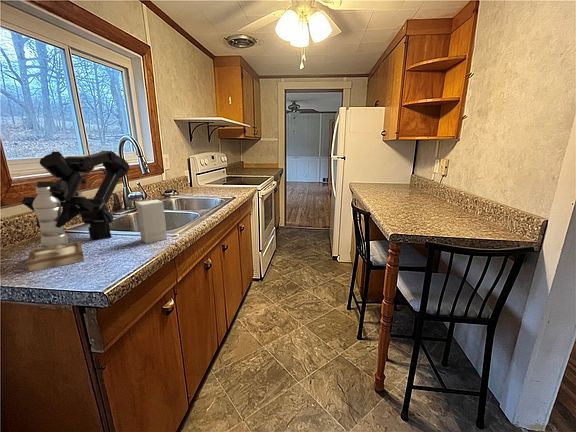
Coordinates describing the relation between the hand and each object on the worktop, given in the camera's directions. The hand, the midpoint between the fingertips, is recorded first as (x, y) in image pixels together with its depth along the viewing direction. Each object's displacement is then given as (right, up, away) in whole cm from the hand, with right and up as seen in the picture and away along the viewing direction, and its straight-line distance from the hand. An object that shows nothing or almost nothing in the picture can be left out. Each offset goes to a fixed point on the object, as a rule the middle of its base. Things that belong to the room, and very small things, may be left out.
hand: (48, 227), depth 84 cm
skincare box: (+21, -6, +24) cm, 33 cm away
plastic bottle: (0, -7, +3) cm, 8 cm away
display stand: (0, -11, +4) cm, 11 cm away
